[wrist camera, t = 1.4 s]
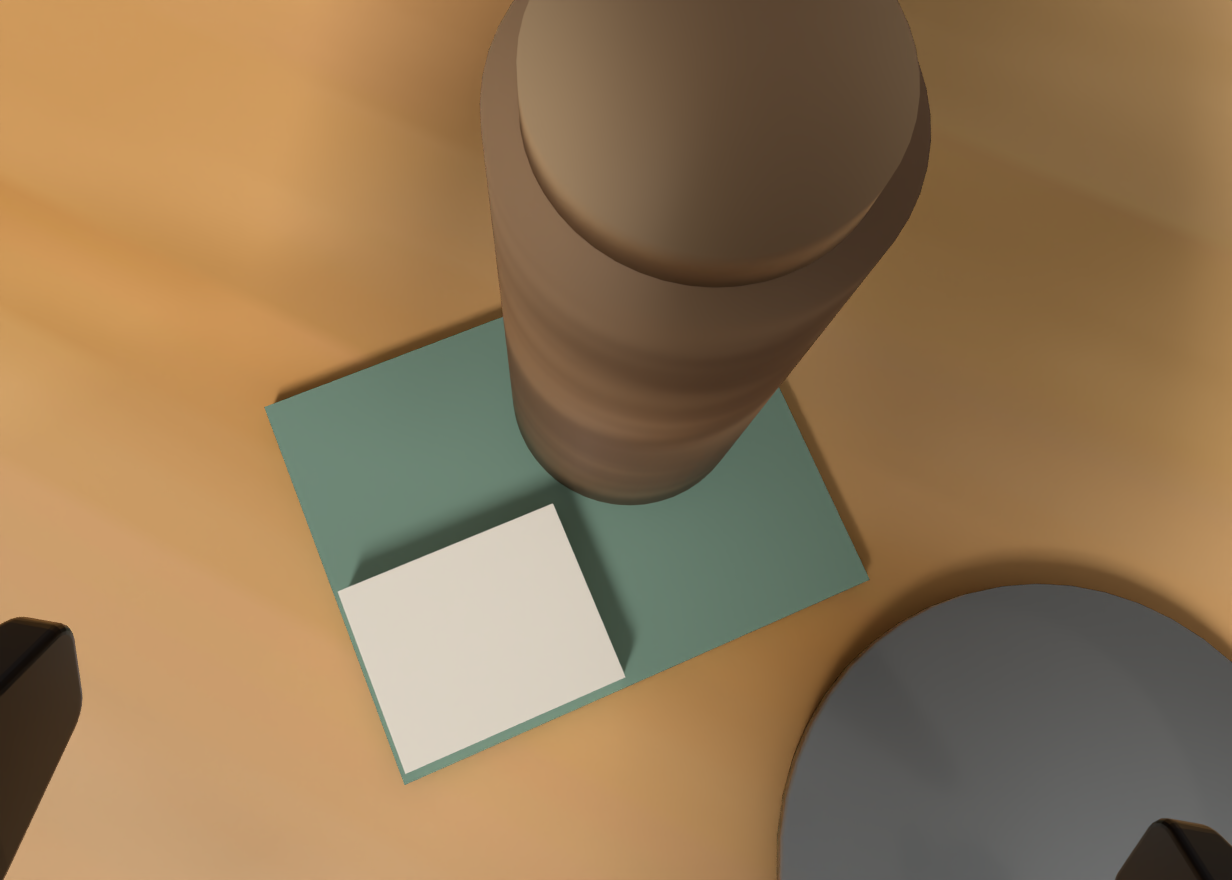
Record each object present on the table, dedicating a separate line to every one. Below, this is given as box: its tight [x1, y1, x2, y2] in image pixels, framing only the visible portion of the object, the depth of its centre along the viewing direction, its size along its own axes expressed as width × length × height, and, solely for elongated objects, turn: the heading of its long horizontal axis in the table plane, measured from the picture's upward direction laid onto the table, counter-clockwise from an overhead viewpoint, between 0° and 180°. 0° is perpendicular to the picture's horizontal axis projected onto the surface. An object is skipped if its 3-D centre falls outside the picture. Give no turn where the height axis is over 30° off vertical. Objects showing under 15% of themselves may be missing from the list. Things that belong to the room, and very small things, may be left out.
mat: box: [265, 317, 870, 785], centre depth 21 cm, size 10×8×1 cm
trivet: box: [777, 584, 1232, 880], centre depth 21 cm, size 11×11×1 cm
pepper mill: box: [480, 0, 931, 505], centre depth 16 cm, size 5×5×12 cm
